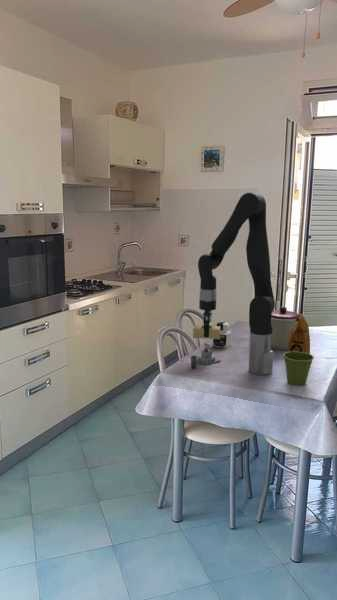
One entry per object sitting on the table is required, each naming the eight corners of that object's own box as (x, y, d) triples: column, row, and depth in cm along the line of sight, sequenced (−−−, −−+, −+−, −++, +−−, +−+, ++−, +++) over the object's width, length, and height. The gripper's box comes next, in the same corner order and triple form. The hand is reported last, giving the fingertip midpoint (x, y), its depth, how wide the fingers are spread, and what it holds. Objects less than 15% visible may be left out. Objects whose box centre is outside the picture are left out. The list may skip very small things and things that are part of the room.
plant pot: (282, 387, 180) (284, 359, 178) (280, 376, 191) (281, 350, 189) (314, 389, 178) (316, 361, 176) (310, 378, 190) (311, 352, 187)
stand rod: (197, 368, 201) (197, 356, 200) (193, 369, 200) (193, 357, 199) (194, 366, 203) (194, 355, 202) (189, 367, 202) (190, 356, 201)
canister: (296, 343, 241) (298, 303, 237) (302, 353, 223) (305, 310, 219) (261, 341, 243) (262, 302, 239) (264, 352, 225) (266, 309, 221)
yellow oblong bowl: (220, 335, 211) (220, 326, 210) (219, 339, 205) (220, 329, 204) (194, 334, 213) (194, 325, 212) (192, 337, 207) (193, 328, 206)
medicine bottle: (212, 346, 234) (213, 323, 232) (218, 343, 240) (218, 320, 238) (226, 348, 231) (226, 325, 229) (231, 344, 237) (231, 322, 235)
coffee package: (283, 365, 205) (286, 317, 201) (289, 358, 216) (292, 312, 212) (306, 369, 201) (309, 320, 197) (311, 361, 212) (314, 314, 207)
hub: (220, 361, 210) (220, 344, 209) (205, 365, 205) (206, 347, 203) (207, 356, 217) (207, 340, 216) (192, 360, 212) (192, 343, 210)
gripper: (200, 295, 213) (199, 330, 216) (198, 301, 199) (197, 339, 202) (216, 296, 212) (215, 331, 215) (215, 302, 198) (214, 339, 201)
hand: (206, 335), depth 209 cm, fingers closed on yellow oblong bowl, 6 cm apart
